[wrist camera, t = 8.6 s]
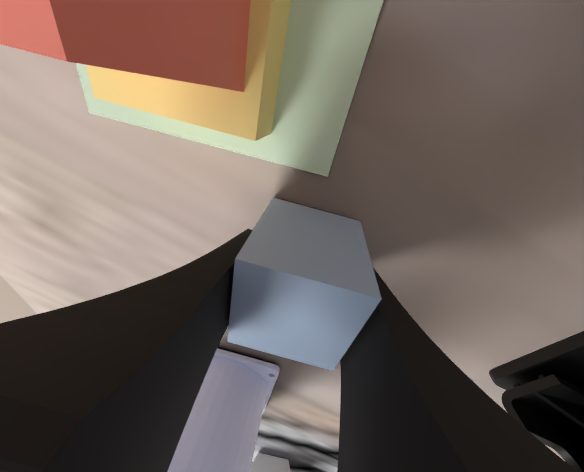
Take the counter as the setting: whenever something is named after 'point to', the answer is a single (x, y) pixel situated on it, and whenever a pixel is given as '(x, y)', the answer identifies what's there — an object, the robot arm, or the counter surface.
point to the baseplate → (289, 88)
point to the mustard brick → (206, 99)
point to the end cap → (549, 396)
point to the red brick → (137, 36)
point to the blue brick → (302, 285)
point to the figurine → (269, 464)
